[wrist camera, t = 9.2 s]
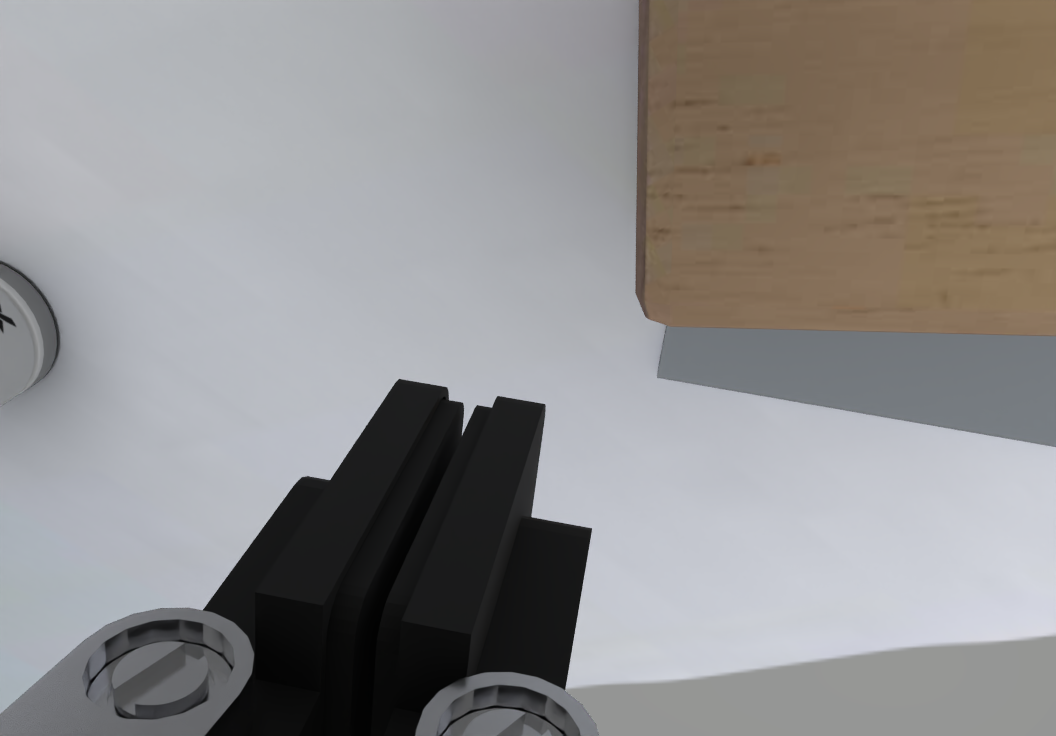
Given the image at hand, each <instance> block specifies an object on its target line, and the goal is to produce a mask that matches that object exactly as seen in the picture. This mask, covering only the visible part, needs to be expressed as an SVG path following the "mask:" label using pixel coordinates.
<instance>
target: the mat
mask: <svg viewBox="0 0 1056 736" xmlns="http://www.w3.org/2000/svg"><path fill="white" fill-rule="evenodd" d="M657 378H662V379H668V380H674V381H679V382H685V383H691V384H697V385H702V386H708V387H714V388H720V389H725V390H731V391H737V392H743V393H748V394H754V395H760V396H766V397H771V398H777V399H783V400H789V401H794V402H800V403H806V404H812V405H817V406H823V407H829V408H835V409H840V410H846V411H852V412H858V413H863V414H869V415H875V416H881V417H887V418H892V419H898V420H904V421H910V422H915V423H921V424H927V425H933V426H938V427H944V428H950V429H956V430H961V431H967V432H973V433H979V434H984V435H990V436H996V437H1002V438H1007V439H1013V440H1019V441H1025V442H1030V443H1036V444H1042V445H1048V446H1053V447H1056V336H1019V335H978V334H938V333H897V332H857V331H817V330H776V329H736V328H695V327H669V326H666V331H665V336H664V341H663V347H662V352H661V357H660V362H659V367H658V373H657Z"/></svg>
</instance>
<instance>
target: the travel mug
mask: <svg viewBox="0 0 1056 736" xmlns="http://www.w3.org/2000/svg"><path fill="white" fill-rule="evenodd" d="M56 348H57V336H56V329H55V325H54V321H53V318H52V316H51V313H50V311H49V309H48V306H47V305H46V303H45V302H44V300H43V299H42V297H41V296H40V294H39V293H38V292H37V291H36V289H35V288H34V287H33V286H32V285H31V284H30V283H29V282H28V281H27V280H26V279H24V278H23V277H22V276H21V275H20V274H18V273H17V272H15V271H13V270H12V269H10V268H9V267H7V266H5V265H2V264H0V407H1V406H2V405H4V404H5V403H7V402H8V401H10V400H11V399H13V398H14V397H15V396H17V395H19V394H21V393H22V392H24V391H25V390H27V389H28V388H30V387H31V386H33V385H35V384H36V383H37V382H39V381H40V380H41V379H42V378H44V377H45V375H46V374H47V373H48V371H49V370H50V369H51V366H52V364H53V361H54V359H55V354H56Z"/></svg>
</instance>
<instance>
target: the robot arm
mask: <svg viewBox="0 0 1056 736" xmlns="http://www.w3.org/2000/svg"><path fill="white" fill-rule="evenodd" d="M463 417H464V405H463V403H461V402H455V401H449V394H448V389H447V387H442V386H436V385H430V384H425V383H419V382H413V381H407V380H402V379H399V380H398V381H397V382H396V383H395V384H394V386H393V387H392V389H391V390H390V392H389V393H388V395H387V396H386V398H385V399H384V401H383V402H382V404H381V405H380V407H379V408H378V410H377V411H376V413H375V414H374V416H373V417H372V419H371V420H370V422H369V423H368V425H367V426H366V428H365V429H364V430H363V432H362V433H361V435H360V436H359V438H358V439H357V441H356V442H355V444H354V445H353V447H352V448H351V450H350V451H349V453H348V454H347V456H346V457H345V459H344V460H343V462H342V463H341V465H340V466H339V468H338V469H337V471H336V472H335V474H334V475H333V477H332V478H331V480H325V479H320V478H314V477H309V476H307V477H302V478H301V479H300V480H299V481H298V482H297V483H296V484H295V485H294V486H293V488H292V489H291V490H290V492H289V493H288V495H287V496H286V497H285V499H284V500H283V501H282V503H281V504H280V505H279V507H278V508H277V510H276V511H275V512H274V514H273V515H272V516H271V518H270V519H269V520H268V522H267V523H266V525H265V526H264V527H263V529H262V530H261V531H260V533H259V534H258V536H257V537H256V538H255V540H254V541H253V542H252V544H251V545H250V546H249V548H248V549H247V551H246V552H245V553H244V555H243V556H242V557H241V559H240V560H239V561H238V563H237V564H236V566H235V567H234V568H233V570H232V571H231V572H230V574H229V575H228V577H227V578H226V579H225V581H224V582H223V583H222V585H221V586H220V587H219V589H218V590H217V592H216V593H215V594H214V596H213V597H212V598H211V600H210V601H209V602H208V604H207V605H206V607H205V608H204V609H203V610H197V609H192V608H160V609H155V610H150V611H145V612H140V613H136V614H132V615H129V616H127V617H125V618H122V619H120V620H117V621H115V622H112V623H110V624H108V625H106V626H104V627H103V628H101V629H100V630H98V631H97V632H95V633H94V634H93V635H91V636H90V637H88V638H87V639H85V640H84V641H83V642H82V643H80V644H79V645H78V646H77V647H76V648H75V649H74V650H73V651H71V652H70V653H69V654H68V655H67V656H66V657H65V658H63V659H62V660H61V661H60V662H59V663H58V664H57V665H55V666H54V667H53V668H52V669H51V670H50V671H49V672H48V673H46V674H45V675H44V676H43V677H42V678H41V679H40V680H38V681H37V682H36V683H35V684H34V685H33V686H32V687H30V688H29V689H28V690H27V691H26V692H25V693H24V694H23V695H21V696H20V697H19V698H18V699H17V700H16V701H15V702H13V703H12V704H11V705H10V706H9V707H8V708H7V709H5V710H4V711H3V712H2V713H1V714H0V736H599V733H598V729H597V726H596V723H595V722H594V720H593V719H592V718H591V716H590V715H589V713H588V712H587V711H586V709H585V708H584V706H583V705H582V704H581V703H580V702H579V701H577V700H576V699H575V698H574V697H572V696H571V695H570V694H568V693H567V692H566V691H565V687H566V681H567V675H568V669H569V664H570V658H571V652H572V646H573V640H574V634H575V628H576V622H577V616H578V610H579V604H580V598H581V592H582V586H583V580H584V574H585V568H586V562H587V556H588V550H589V544H590V538H591V532H592V528H586V527H581V526H575V525H570V524H564V523H559V522H554V521H548V520H543V519H537V518H532V517H531V514H532V507H533V499H534V492H535V485H536V478H537V470H538V463H539V456H540V448H541V441H542V434H543V427H544V419H545V404H541V403H535V402H529V401H523V400H517V399H512V398H506V397H500V396H497V398H496V400H495V402H494V404H493V407H492V408H490V407H484V406H478V405H477V406H476V407H475V409H474V412H473V414H472V416H471V418H470V420H469V422H468V424H467V427H466V429H465V431H464V433H463V435H462V427H463Z"/></svg>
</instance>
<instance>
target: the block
mask: <svg viewBox="0 0 1056 736" xmlns="http://www.w3.org/2000/svg"><path fill="white" fill-rule="evenodd" d="M636 295H637V298H638V300H639V302H640V305H641V307H642V310H643V312H644V314H645V317H647V318H648V319H650V320H653V321H656V322H659V323H662V324H664V325H667V326H669V327H695V328H736V329H776V330H817V331H857V332H897V333H938V334H978V335H1019V336H1056V0H639V51H638V132H637V213H636Z"/></svg>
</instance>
